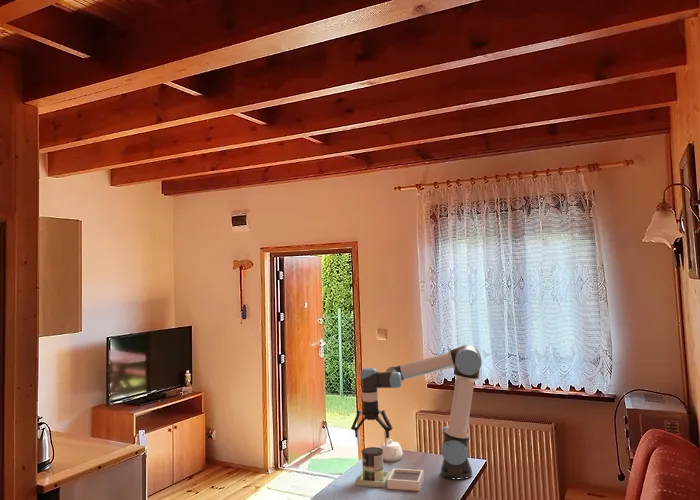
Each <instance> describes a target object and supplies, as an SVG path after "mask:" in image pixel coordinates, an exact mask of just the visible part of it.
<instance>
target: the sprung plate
mask: <svg viewBox="0 0 700 500" xmlns="http://www.w3.org/2000/svg"><path fill="white" fill-rule="evenodd" d="M419 475H420V474H418V473H402V472H395V474H394V476H393V478H392V479H396V480H411V481H417V480H418V478H419Z"/></svg>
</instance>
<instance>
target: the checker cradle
mask: <svg viewBox="0 0 700 500" xmlns="http://www.w3.org/2000/svg"><path fill="white" fill-rule="evenodd" d="M424 471H425V470H423V469H408V468H392V470H391V471H390V475H389V477H388V479H387V484H386V486H387V488H386V489H389V490H391V489H392V490H403V491H404V490H406V491H415V492H416V491H417V492H419V491H420V490H421V487H422V485H423V482H424V480H425V474H424V473H425V472H424ZM395 472H402V473H418V474H420V475H419V478H418V480H417V481H411V480H396V479H392V478H393V476H394V474H395Z"/></svg>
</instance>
